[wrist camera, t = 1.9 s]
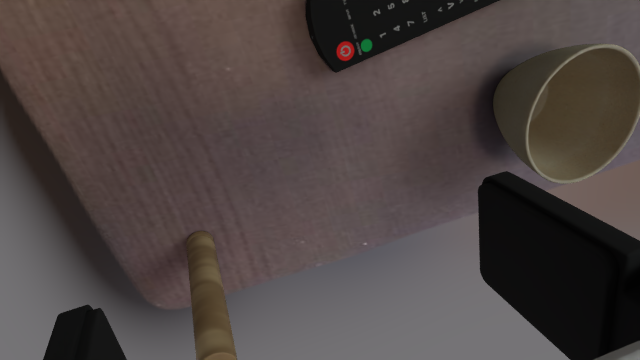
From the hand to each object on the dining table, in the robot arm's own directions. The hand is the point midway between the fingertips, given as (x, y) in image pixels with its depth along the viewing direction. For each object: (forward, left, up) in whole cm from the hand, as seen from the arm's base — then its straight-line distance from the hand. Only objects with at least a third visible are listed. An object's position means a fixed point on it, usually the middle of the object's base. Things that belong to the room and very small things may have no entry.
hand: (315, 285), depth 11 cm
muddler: (-3, -11, -22) cm, 25 cm away
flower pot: (+24, -4, -23) cm, 34 cm away
